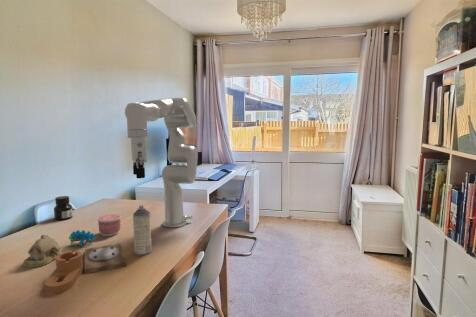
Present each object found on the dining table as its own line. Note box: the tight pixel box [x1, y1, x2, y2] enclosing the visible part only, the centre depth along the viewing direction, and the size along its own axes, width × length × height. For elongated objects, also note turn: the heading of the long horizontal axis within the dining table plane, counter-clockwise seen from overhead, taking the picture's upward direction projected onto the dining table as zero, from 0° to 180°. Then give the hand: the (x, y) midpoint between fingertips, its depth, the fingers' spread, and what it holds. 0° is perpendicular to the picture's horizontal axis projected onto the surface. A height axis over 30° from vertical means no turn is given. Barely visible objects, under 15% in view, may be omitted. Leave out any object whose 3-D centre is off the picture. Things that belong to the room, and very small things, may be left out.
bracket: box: [44, 250, 84, 295], centre depth 109 cm, size 18×8×7 cm, turn 10°
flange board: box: [84, 243, 127, 274], centre depth 126 cm, size 14×20×3 cm
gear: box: [68, 229, 96, 248], centre depth 140 cm, size 11×6×10 cm
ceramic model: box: [23, 234, 63, 268], centre depth 125 cm, size 14×11×10 cm
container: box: [97, 213, 122, 237], centre depth 154 cm, size 10×10×8 cm
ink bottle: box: [53, 195, 73, 221], centre depth 177 cm, size 10×9×12 cm
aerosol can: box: [132, 204, 152, 257], centre depth 131 cm, size 7×7×20 cm
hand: (139, 176), depth 129 cm, fingers open, 9 cm apart
